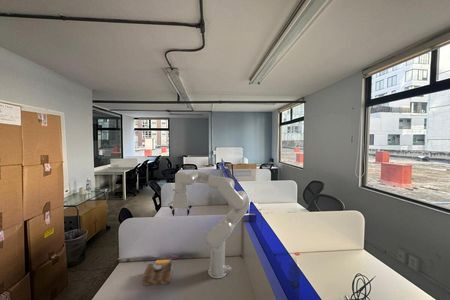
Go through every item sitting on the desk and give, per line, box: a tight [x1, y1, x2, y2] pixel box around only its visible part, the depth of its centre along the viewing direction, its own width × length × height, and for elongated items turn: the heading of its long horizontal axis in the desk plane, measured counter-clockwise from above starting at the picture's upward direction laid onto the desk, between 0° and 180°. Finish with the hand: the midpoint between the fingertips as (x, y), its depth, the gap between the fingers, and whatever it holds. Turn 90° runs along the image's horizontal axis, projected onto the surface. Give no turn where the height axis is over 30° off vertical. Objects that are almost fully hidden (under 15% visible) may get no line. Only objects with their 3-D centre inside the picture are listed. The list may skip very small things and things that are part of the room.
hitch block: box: [142, 257, 174, 287], centre depth 135 cm, size 16×12×11 cm
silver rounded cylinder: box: [153, 261, 163, 272], centre depth 135 cm, size 6×6×9 cm
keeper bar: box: [155, 259, 171, 265], centre depth 135 cm, size 9×3×1 cm, turn 97°
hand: (180, 215), depth 146 cm, fingers open, 9 cm apart
